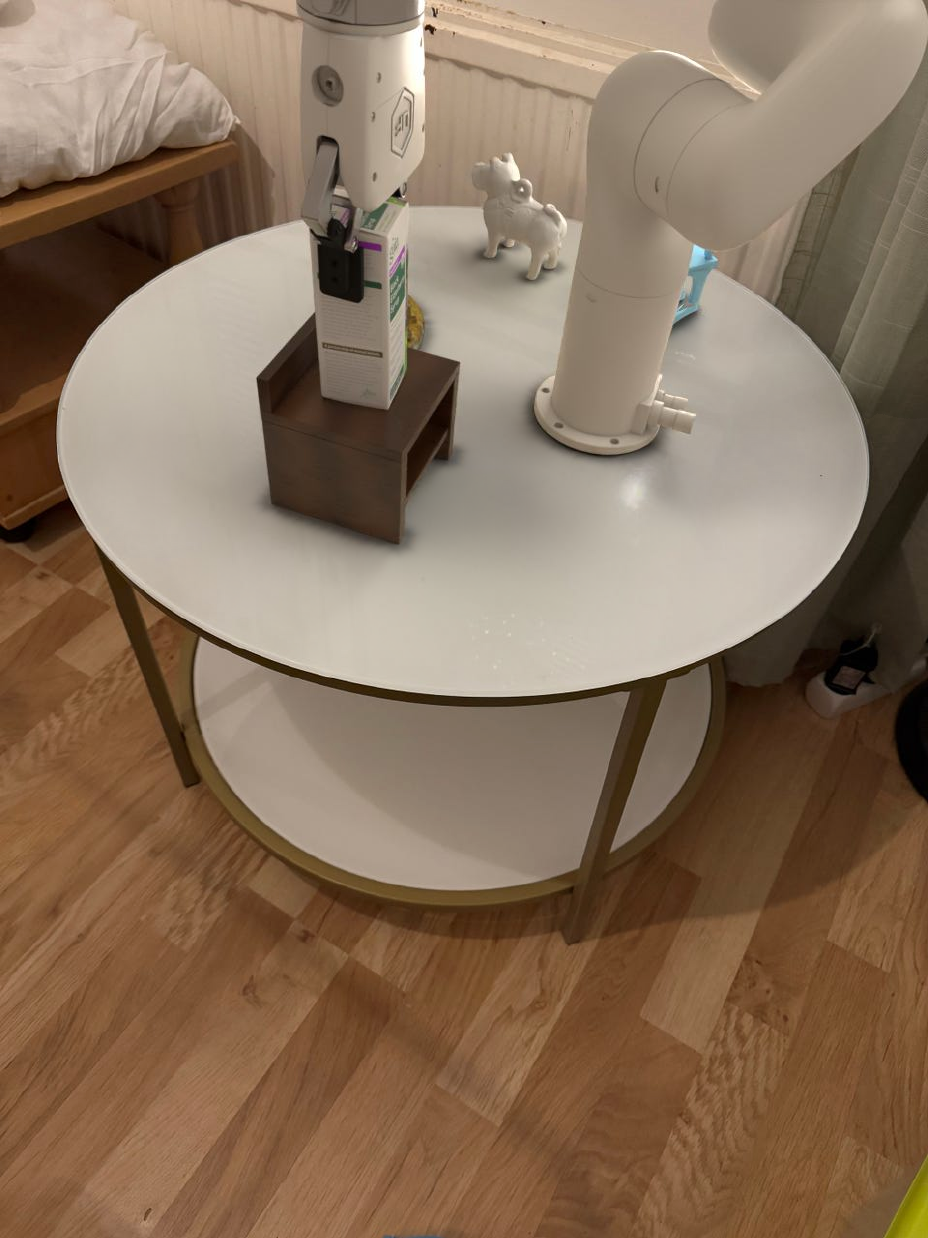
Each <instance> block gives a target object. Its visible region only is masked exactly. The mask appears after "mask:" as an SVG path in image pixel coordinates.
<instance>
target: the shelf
mask: <svg viewBox="0 0 928 1238" xmlns="http://www.w3.org/2000/svg"><path fill="white" fill-rule="evenodd" d="M460 371H461V361H458V360H455V359H451V358H448V357H444V356H441V355H437V354H434V353H430V352H427V351H422V350H419V349H417V350H416V349H413V348H409V347H407V370H406V372H405V374H404V377H403V379H402V381H401V384H400V386H399V388H398V390H397V393H396V395H395V396H394V398H393V400H392V402H391V404H390V407H389V409H388V410H385V409H379V408H373V407H368V406H362V405H357V404H352V403H347V402H342V401H338V400H333V399H329V398H325V397H323V396H322V395H321V386H320V372H319V358H318V344H317V331H316V319H315V311H314V312H313V313H312V314H311V315H310V316H309V317H308V319H307V320H306V321H304V323H303V324H302V325H301V326H300V327H299V329H298V330H297V331H296V332H295V333H294V334H293V336H292V337H291V338H290V339H289V340H288V341H287V342H286V343H285V345H284V346H283V347H282V348H281V349H280V350H279V351H278V352H277V353H276V354H275V356H274V357H273V358H272V359H271V360H270V362H268V364H266V366H265V367H264V368H263V369H262V370H261V371H260V373H259V374H258V375H257V376H256V378H255V379H256V388H257V395H258V396H257V397H258V402H259V403H258V404H259V413H260V414H259V415H260V420H261V430H262V438H263V445H264V454H265V455H264V456H265V462H266V471H267V479H268V480H267V481H268V487H269V495H270V496H269V498H270V503H271V505H275V506H278V507H281V508H284V509H287V510H290V511H293V512H297V513H300V514H303V515H306V516H309V517H313V518H316V519H319V520H322V521H325V522H328V523H331V524H335V525H338V526H341V527H344V528H347V529H350V530H353V531H356V532H360V533H363V534H366V535H369V536H372V537H375V538H379V539H382V540H384V541H387V542H391V543H394V544H397V545H400V543H401V542H402V539H403V538H404V537H405V531H406V530H405V529H406V527H405V526H406V506H407V503H408V501H409V500H410V498H411V497H412V495H413V493H414V491H415V490H416V489H417V487H418V485H419V483H420V481H421V480H422V478H423V476H424V475H425V473H426V471H427V470H428V468H429V467H430V465H431V463H432V462H433V460H434V459H435V458H439V459H442V460H444V461H449V459H450V458H451V456H452V454H453V450H454V440H455V439H454V438H455V426H456V415H457V404H458V402H457V401H458V392H459V382H460V381H459V380H460Z"/></svg>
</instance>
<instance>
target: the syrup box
mask: <svg viewBox="0 0 928 1238" xmlns="http://www.w3.org/2000/svg"><path fill="white" fill-rule="evenodd" d="M334 194H337V195H341V196H344V197H348V198H349V196H348V194H347V191H346V189H344V188H343V189H341V188H336V187H335V190H334ZM348 212H349V209H347V208H344V207H340V206H336V205H332V210H331V213H332V214H333V215H332V217H333V218H334V219H338V220H339V221H340V222H341V223H342V224H343V225H344V227H345V228H346V226H347V219H348ZM409 217H410V203H409V202H408V201H407V200H405V199H403V198H400V197H399V198H395V197H391V196H390V197H389V198H388V199H387V200H386V201H385V202H384V203H383V204H382V205H381V206H380V207H378V208H377V209H375V210H374V211H372V212H367V211H364V210H363V215H362V221H361V228H360V234H359V241H358V246H362V247H364V298H363V299H362V301H361V302H360V303H354V302H350V301H347V300H343V299H339V298H336V297H332V296H328V295H325V294H323V293H322V292H321V291H320V289H319V271H318V250H317V243H315V242H314V239H313V234H312V233H311V232H310V228H309V227H308V231H309V233H308V234H309V244H310V246H309V247H310V257H311V272H312V288H313V300H314V303H313V304H314V312H315V319H316V331H317V344H318V358H319V372H320V386H321V395H322V396H323V397H325V398H329V399H333V400H338V401H342V402H347V403H352V404H357V405H362V406H368V407H373V408H379V409H385V410H388V409H389V407H390V404H391V402H392V400H393V398H394V396H395V395H396V393H397V390H398V388H399V386H400V384H401V381H402V379H403V377H404V374H405V372H406V370H407V314H408V312H407V310H408V295H409V229H410V228H409V227H410V225H409V222H410V218H409Z"/></svg>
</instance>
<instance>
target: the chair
mask: <svg viewBox="0 0 928 1238" xmlns="http://www.w3.org/2000/svg"><path fill="white" fill-rule="evenodd" d="M713 252H714V251H709V250H706V249H703V248H700V247H698V246H696V245H695V244H694V247H693V253H692V258H691V263H690V267H689V271H688V274H687V277H691V278H692V284H691V288H690V292H689V297H688V300H687V302H689V303H692V304H695V303H698V302H699V303H698V304H696V305H694V306H691V307H687V308H685V309H683V310H681V311H678V310H679V309H680V308H681V307H682V306H683V305H684V304H685V303H683V304H682V305H680V306H678V308H677V311H678V312H677V311H676V315H675V318H674V322H673V325H674V324H676V323H678V322H679V321H680V320H682V319H683V318H685V317H686V316H687V317H688V316H689V315H690V314H692V313H694V312H696V311H698V309H699V304H700V300H701V296H702V293H703V289H704V286H705V284H706V280H707V278H708V276H709V275H710V273H711V271H712V270H713V269H717V267H718V264H719V261H720V260H719V259H718V258H717V257H715V256H714V255H713ZM685 290H686V286H685V285H684V287H683V290H682V292H683V291H685ZM685 296H686V292H685V293H682V294H681V297H680V301H682V300H684V299H685V298H686V297H685Z"/></svg>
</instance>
